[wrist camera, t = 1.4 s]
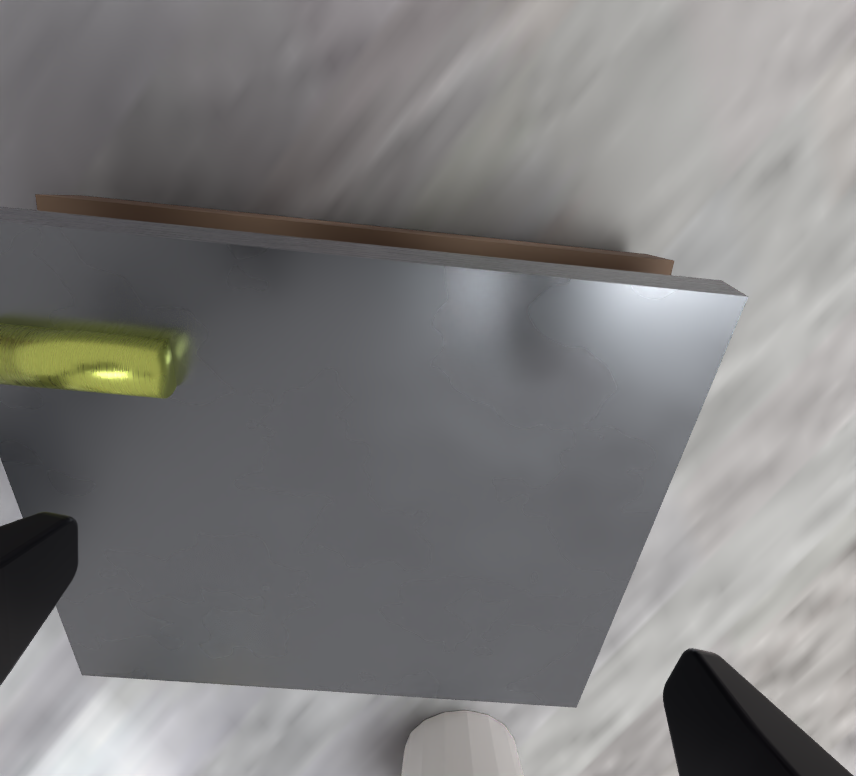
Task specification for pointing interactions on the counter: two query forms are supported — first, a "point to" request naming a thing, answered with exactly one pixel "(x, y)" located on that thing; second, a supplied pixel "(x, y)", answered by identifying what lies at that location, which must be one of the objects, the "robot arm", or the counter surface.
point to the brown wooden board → (352, 233)
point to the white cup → (461, 747)
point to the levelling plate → (343, 451)
